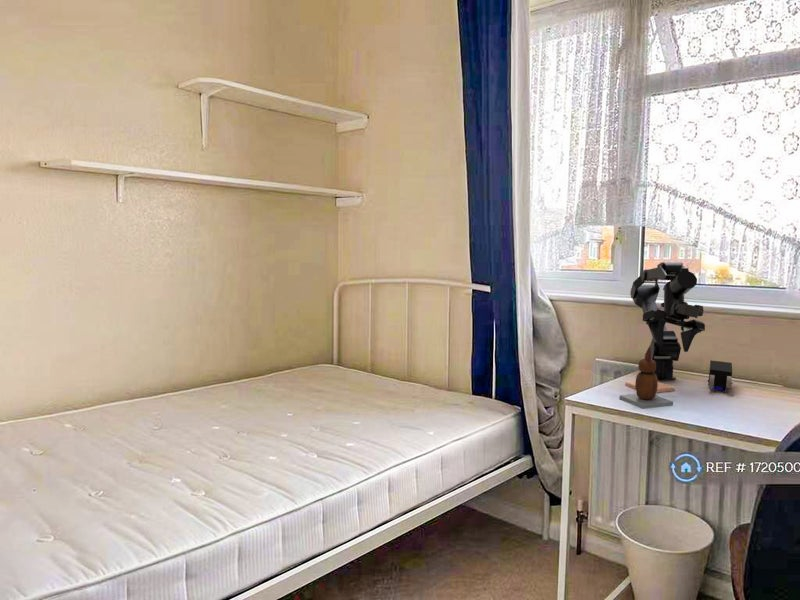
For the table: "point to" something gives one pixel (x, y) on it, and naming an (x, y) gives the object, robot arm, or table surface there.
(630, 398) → the slate tile
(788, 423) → the table surface
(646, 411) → the table surface
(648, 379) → the wooden figurine
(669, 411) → the table surface
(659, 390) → the terracotta tile
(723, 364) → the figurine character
